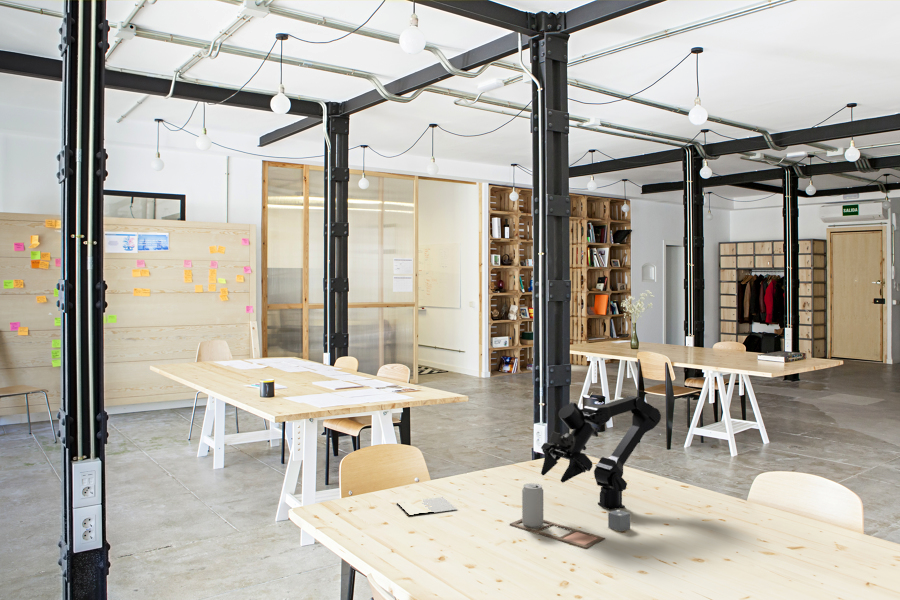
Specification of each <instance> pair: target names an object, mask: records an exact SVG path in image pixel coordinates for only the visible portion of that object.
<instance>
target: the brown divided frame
mask: <svg viewBox="0 0 900 600" xmlns="http://www.w3.org/2000/svg"><path fill="white" fill-rule="evenodd" d="M518 523H519V524H518ZM521 523H523V522H522V518H520V519H518V520H516V521H512V522H510V523H509V526H511V527H514V526H515V528H517V527H518V529H520V530H524V531H527V532H531V533H534V534H537V535H541V536H543V537H547V538H550V539H553V540H557V541H560V542H561V543H562V542H563V543H565V544H569V545H572V546H575V547H579V548H582V549H589V548H591V547H593V546H594V545H596V544H598V543H600V542H602V541H604V540H606V537H604V536H600V535H597V534H593V533H590V532H587V531H584V530H580V529H576V528H573V527H570V526H566V525H563V524H560V523H559V524H558V523H557V522H556V523H555V522H554V521H553V522H552V521H550V520H546V519H543V524H546V523H547V524H546V525H544V526H543V525H542V526H541V527H538V528H536V529H535V528H530V527H527V526H525V525H521ZM553 525H555V526H554V527H556V526H558V527H557V528H560V527H561V529H563V528H565V529H564V530H567V529H568V530H567V531H570V530H571V531H570V532H568V533H565V534H563V535H561V536H556V535H553V534H550V533H546V532H543V531H544V530H545V529H548V528H550V527H553ZM549 526H550V527H549ZM547 527H548V528H547Z"/></svg>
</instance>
